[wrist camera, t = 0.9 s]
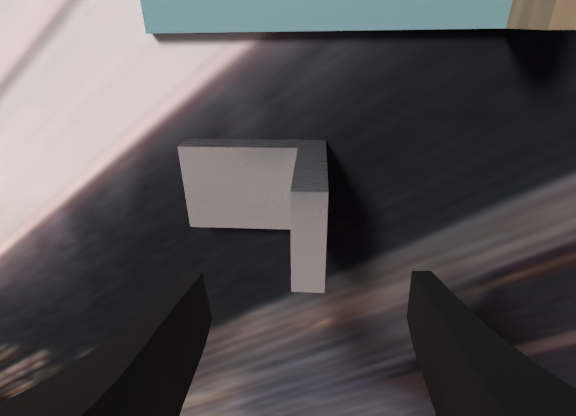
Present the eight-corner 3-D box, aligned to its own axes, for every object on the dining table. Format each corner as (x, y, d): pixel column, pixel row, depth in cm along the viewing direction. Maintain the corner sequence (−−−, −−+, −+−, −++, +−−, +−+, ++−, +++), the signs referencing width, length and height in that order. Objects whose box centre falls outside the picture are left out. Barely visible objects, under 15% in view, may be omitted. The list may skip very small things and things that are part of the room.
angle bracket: (325, 140, 20) (328, 192, 14) (323, 218, 22) (324, 292, 16) (186, 138, 21) (130, 188, 15) (197, 215, 23) (153, 285, 17)
